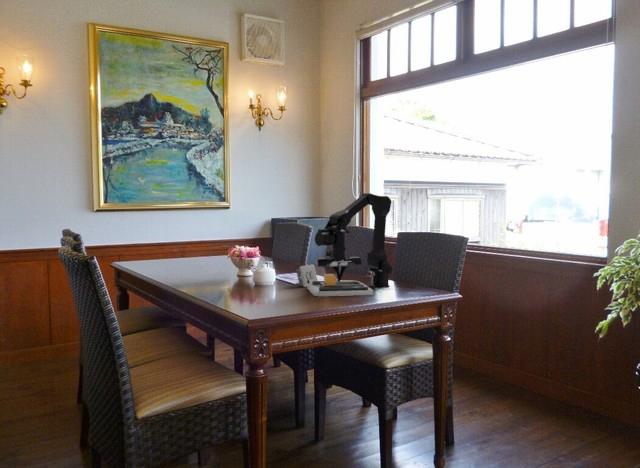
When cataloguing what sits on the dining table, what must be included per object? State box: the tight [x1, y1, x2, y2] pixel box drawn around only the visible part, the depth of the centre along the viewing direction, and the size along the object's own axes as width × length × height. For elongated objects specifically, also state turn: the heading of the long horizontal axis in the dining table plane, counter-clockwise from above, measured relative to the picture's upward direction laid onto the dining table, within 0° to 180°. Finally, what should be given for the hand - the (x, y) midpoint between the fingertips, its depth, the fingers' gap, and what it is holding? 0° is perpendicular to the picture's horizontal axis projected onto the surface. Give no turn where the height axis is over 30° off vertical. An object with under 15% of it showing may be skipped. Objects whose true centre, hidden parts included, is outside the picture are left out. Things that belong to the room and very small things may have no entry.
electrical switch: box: [295, 264, 319, 288], centre depth 249 cm, size 9×5×9 cm, turn 141°
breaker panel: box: [307, 279, 374, 297], centre depth 234 cm, size 24×18×4 cm
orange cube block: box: [323, 273, 337, 285], centre depth 233 cm, size 4×5×5 cm
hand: (338, 281), depth 234 cm, fingers closed
